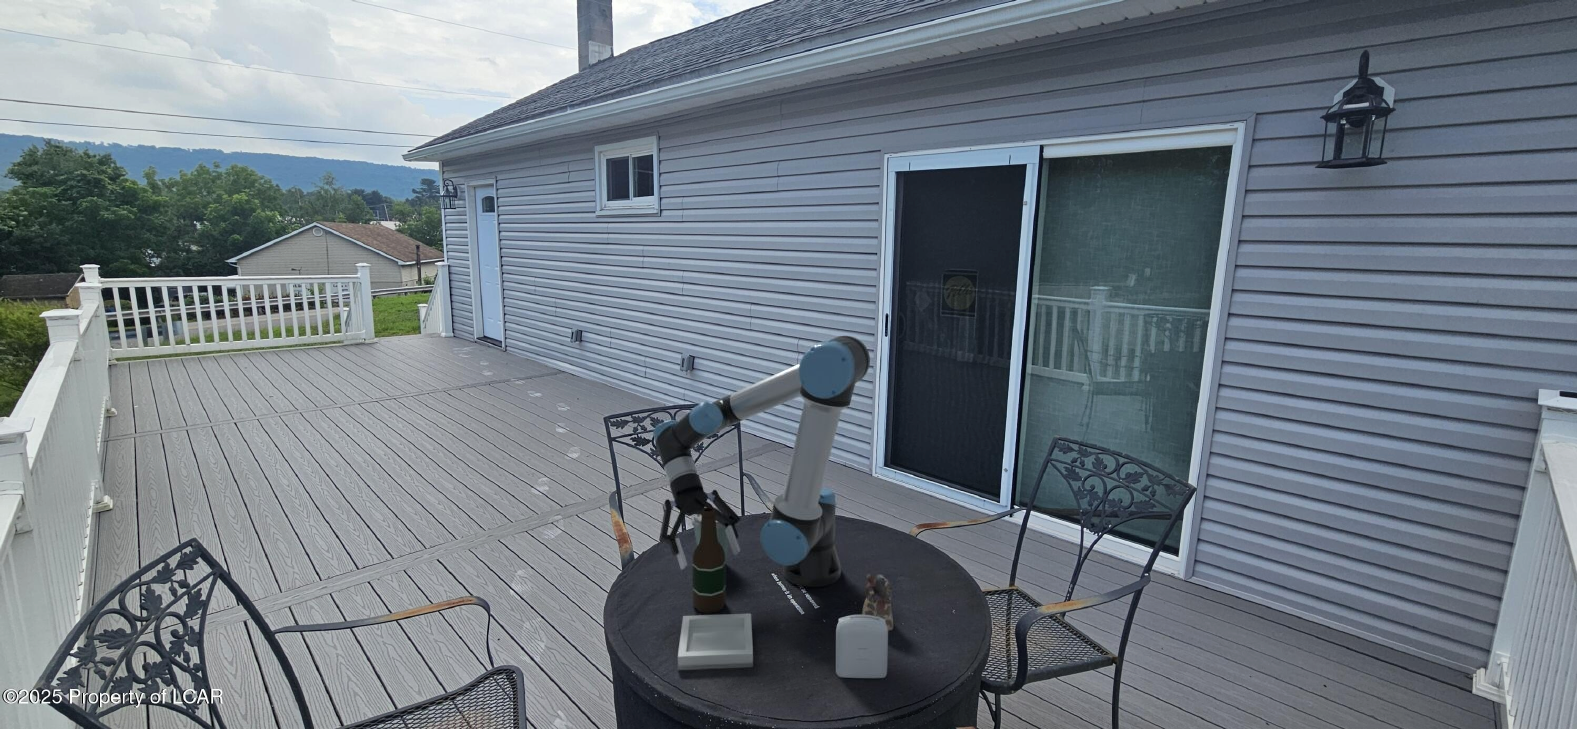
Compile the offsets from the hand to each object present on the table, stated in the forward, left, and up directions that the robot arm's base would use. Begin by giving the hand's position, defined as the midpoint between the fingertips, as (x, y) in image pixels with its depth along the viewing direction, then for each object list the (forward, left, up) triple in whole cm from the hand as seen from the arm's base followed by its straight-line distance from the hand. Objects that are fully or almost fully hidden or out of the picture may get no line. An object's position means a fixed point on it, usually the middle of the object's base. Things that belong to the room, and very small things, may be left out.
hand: (711, 560), depth 155 cm
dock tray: (-1, +16, -12) cm, 20 cm away
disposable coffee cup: (+1, -21, -12) cm, 25 cm away
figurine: (-37, +10, -12) cm, 41 cm away
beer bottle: (+1, -1, -12) cm, 12 cm away
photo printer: (-30, +27, -12) cm, 42 cm away
